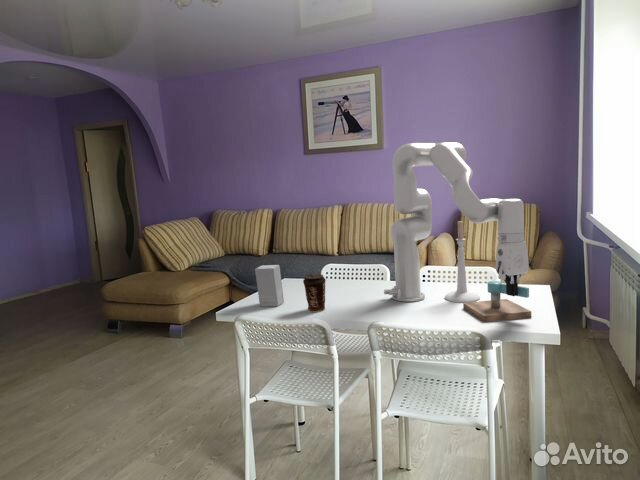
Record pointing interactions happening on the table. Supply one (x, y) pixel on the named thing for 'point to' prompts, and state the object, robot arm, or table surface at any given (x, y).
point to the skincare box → (269, 285)
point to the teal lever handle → (501, 288)
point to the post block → (496, 309)
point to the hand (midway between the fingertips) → (512, 295)
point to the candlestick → (461, 275)
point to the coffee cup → (315, 292)
